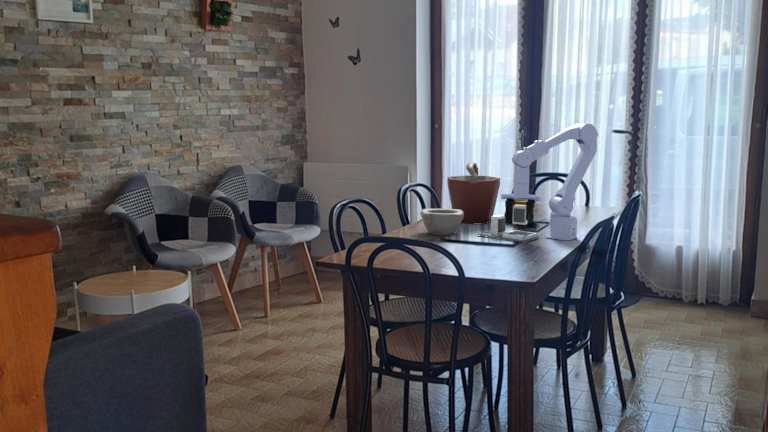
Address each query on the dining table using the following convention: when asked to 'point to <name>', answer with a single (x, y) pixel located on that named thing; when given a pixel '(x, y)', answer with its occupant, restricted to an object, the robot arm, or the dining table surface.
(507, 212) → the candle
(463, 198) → the bucket
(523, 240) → the grey hollow box
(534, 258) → the dining table surface
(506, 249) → the dining table surface
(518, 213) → the white matte cuboid
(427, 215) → the mortar
